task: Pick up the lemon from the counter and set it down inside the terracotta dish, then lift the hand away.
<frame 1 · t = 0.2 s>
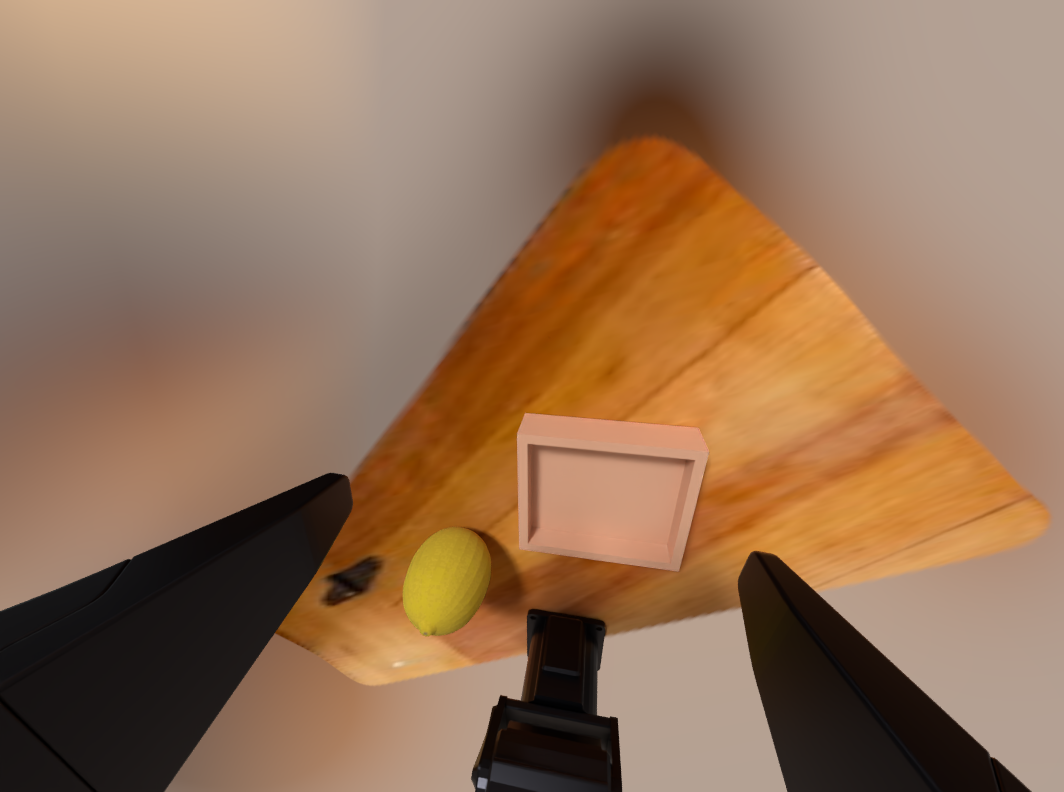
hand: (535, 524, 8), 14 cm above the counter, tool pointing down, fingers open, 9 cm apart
lemon: (469, 529, 29), on the counter
dish: (602, 480, 25), on the counter
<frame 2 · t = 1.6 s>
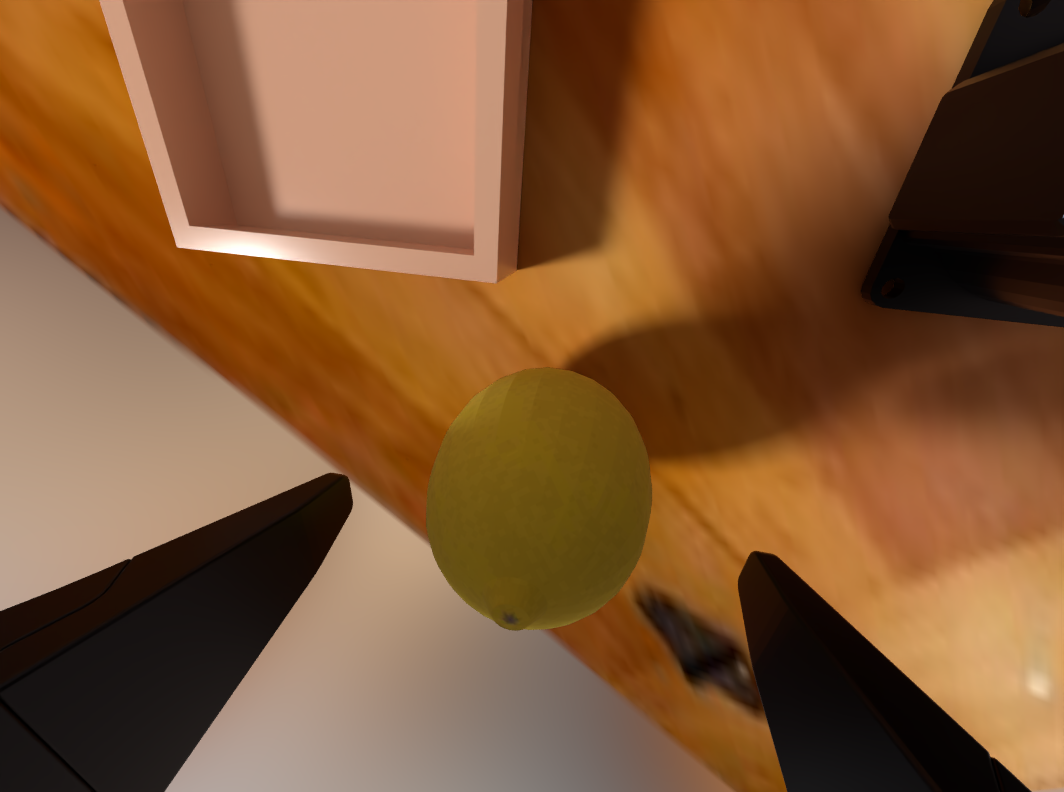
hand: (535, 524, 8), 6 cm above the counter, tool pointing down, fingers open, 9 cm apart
lemon: (558, 406, 14), on the counter
dish: (358, 47, 10), on the counter
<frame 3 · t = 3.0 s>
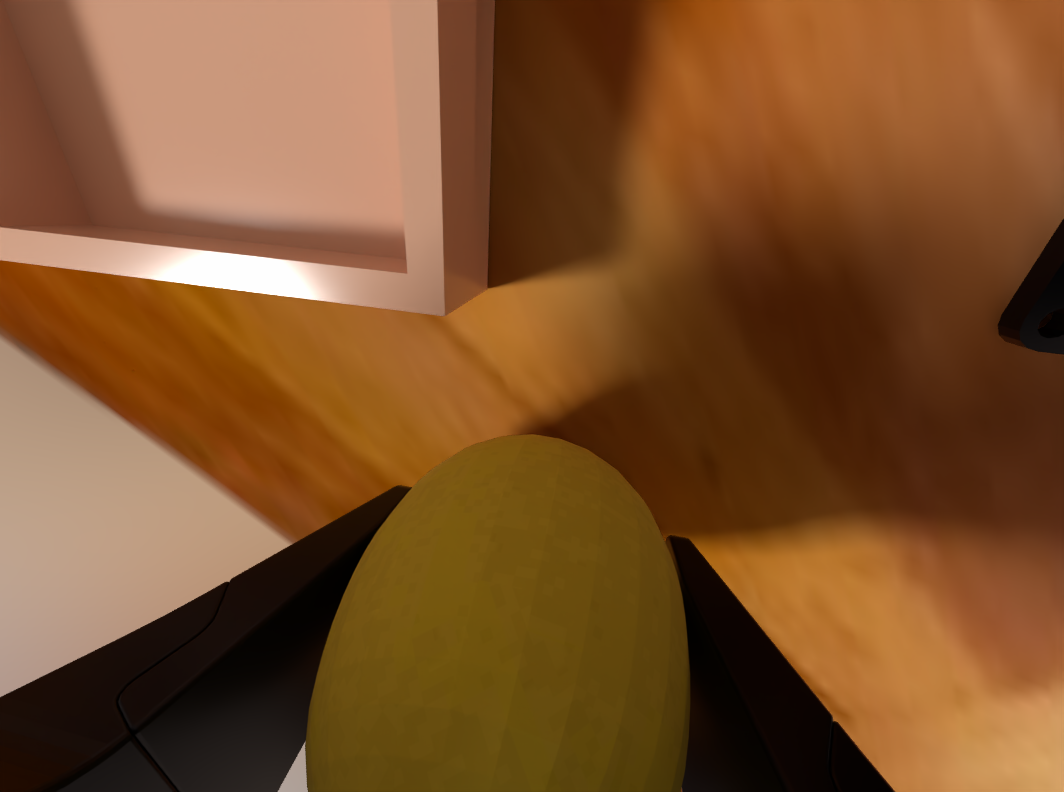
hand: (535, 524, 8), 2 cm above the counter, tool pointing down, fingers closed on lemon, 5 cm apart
lemon: (548, 465, 10), on the counter, touching gripper
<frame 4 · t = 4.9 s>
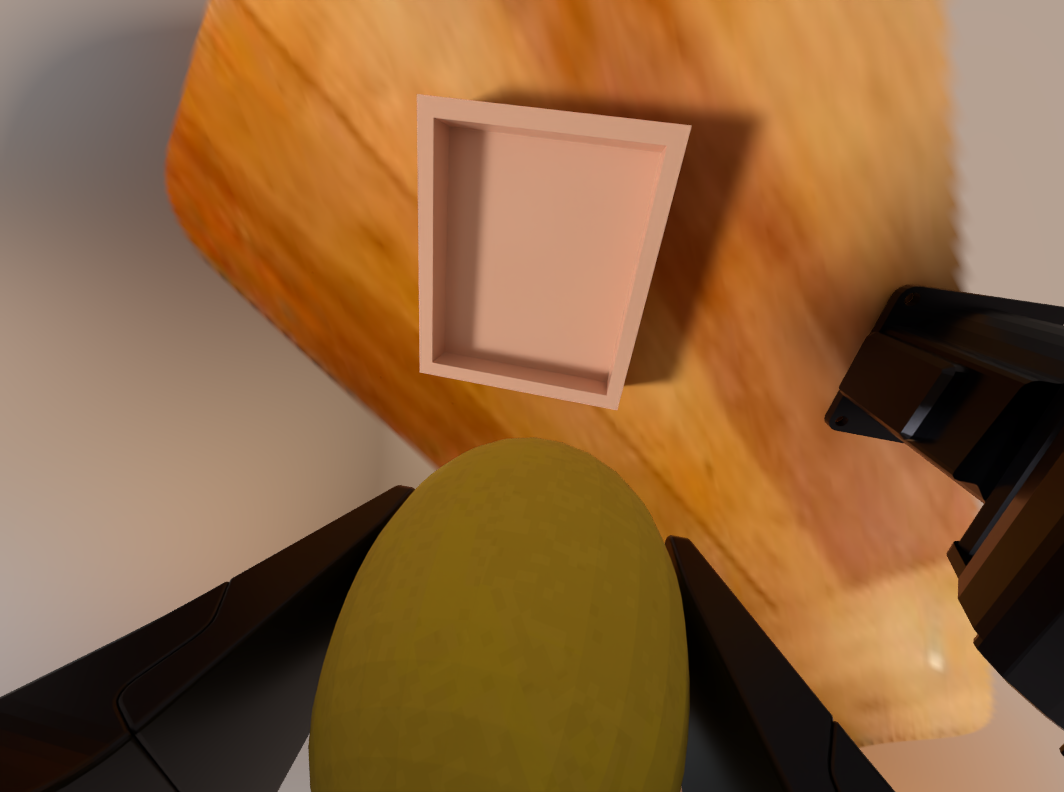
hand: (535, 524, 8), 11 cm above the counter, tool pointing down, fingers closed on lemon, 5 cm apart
lemon: (549, 467, 10), point 9 cm above the counter, touching gripper
dish: (539, 264, 17), on the counter
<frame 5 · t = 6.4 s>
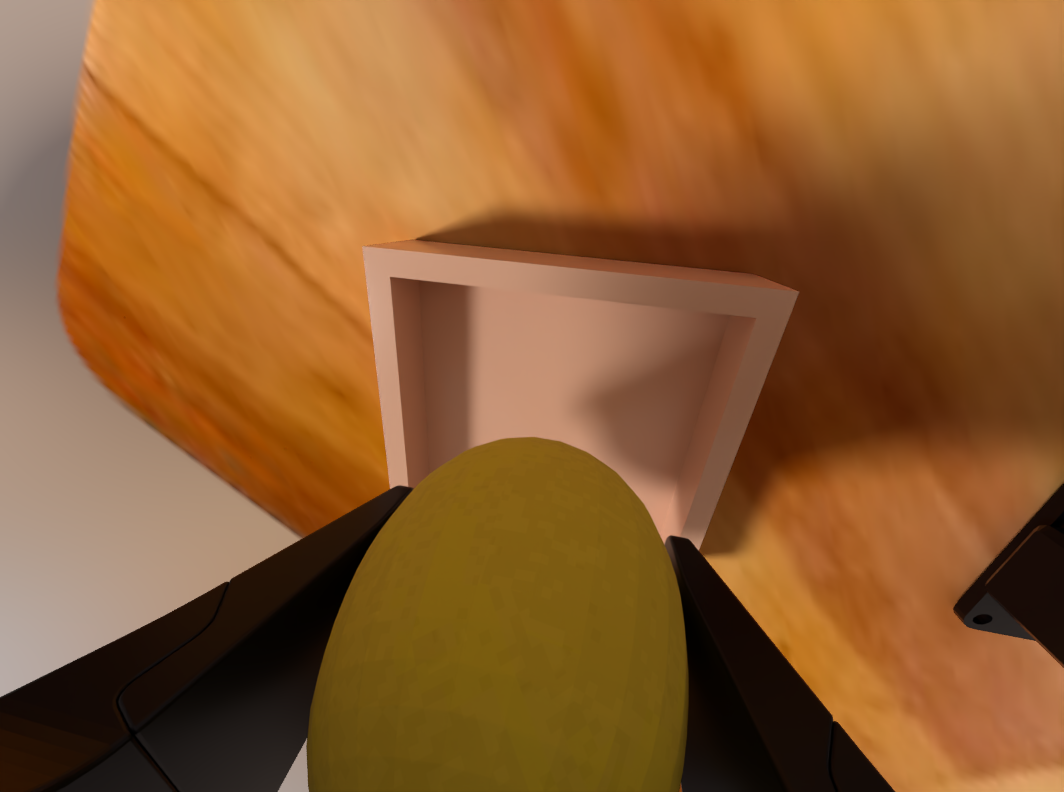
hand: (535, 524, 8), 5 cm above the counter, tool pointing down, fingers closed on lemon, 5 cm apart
lemon: (548, 467, 10), point 2 cm above the counter, touching gripper
dish: (554, 422, 12), on the counter
when the fingers open (4 cm above the counter, at t = 7.2 s): lemon drops 1 cm, resting on dish.
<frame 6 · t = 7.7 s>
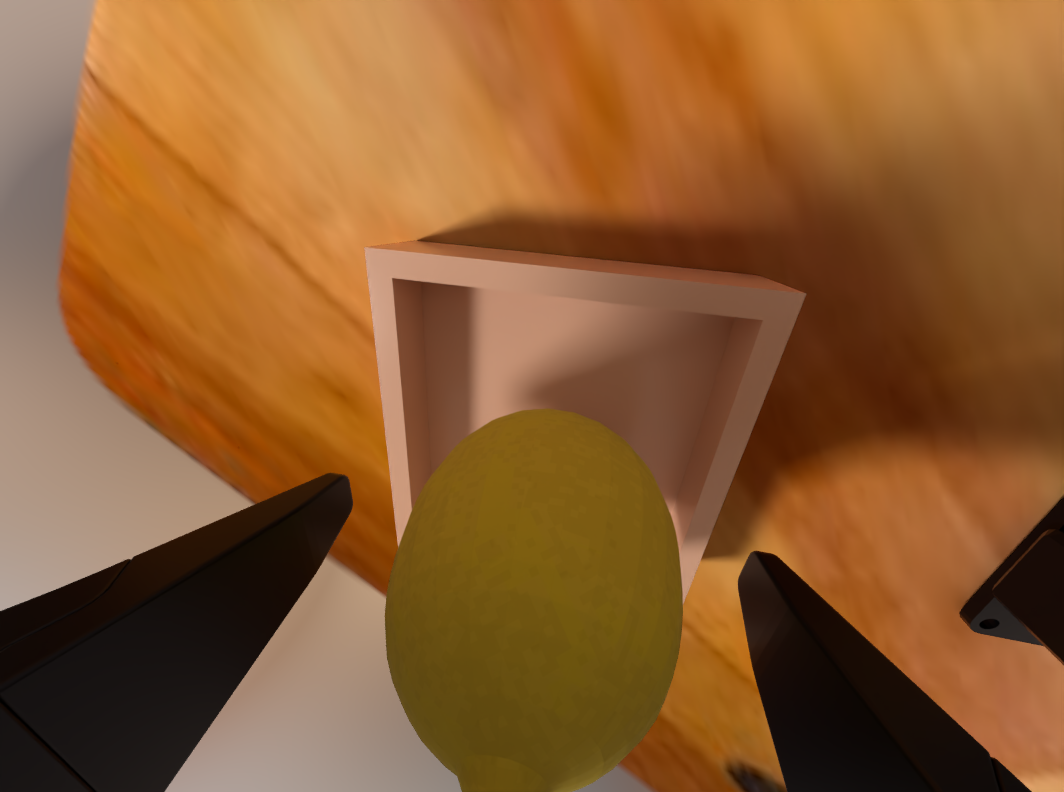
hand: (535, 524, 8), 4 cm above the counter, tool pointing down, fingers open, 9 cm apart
lemon: (557, 441, 12), point 1 cm above the counter, touching dish
dish: (556, 424, 12), on the counter
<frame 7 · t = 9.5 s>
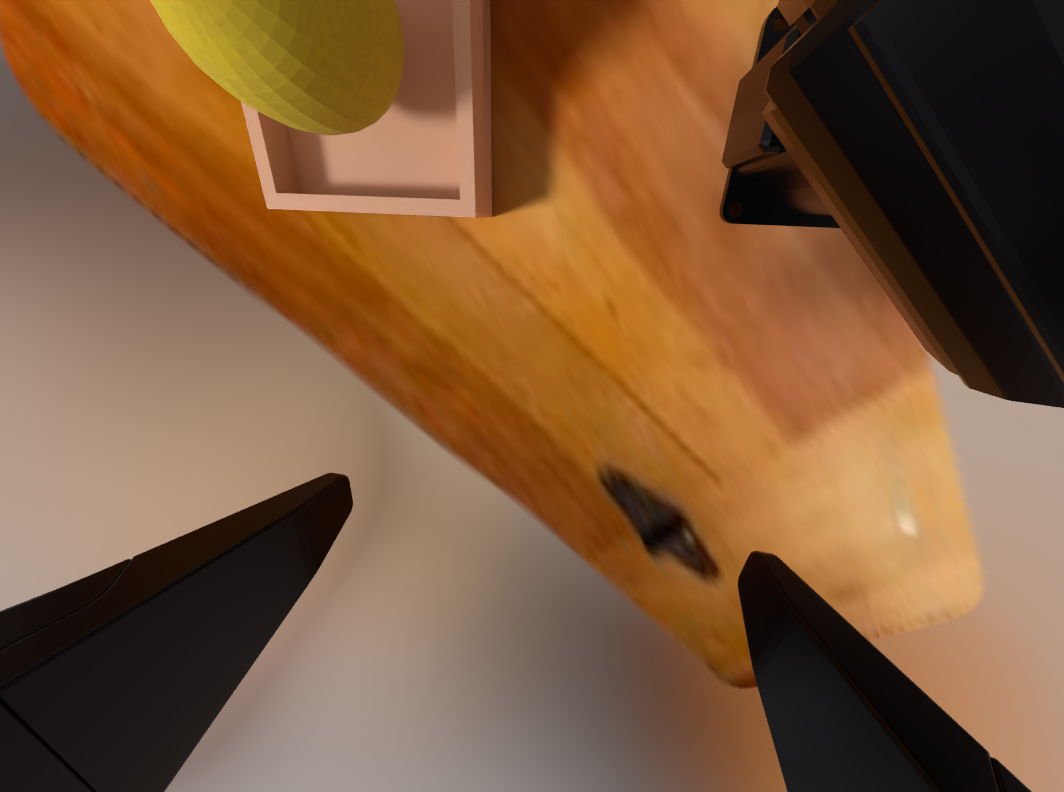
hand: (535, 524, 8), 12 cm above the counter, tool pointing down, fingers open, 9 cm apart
lemon: (374, 68, 15), point 1 cm above the counter, touching dish
dish: (381, 71, 15), on the counter
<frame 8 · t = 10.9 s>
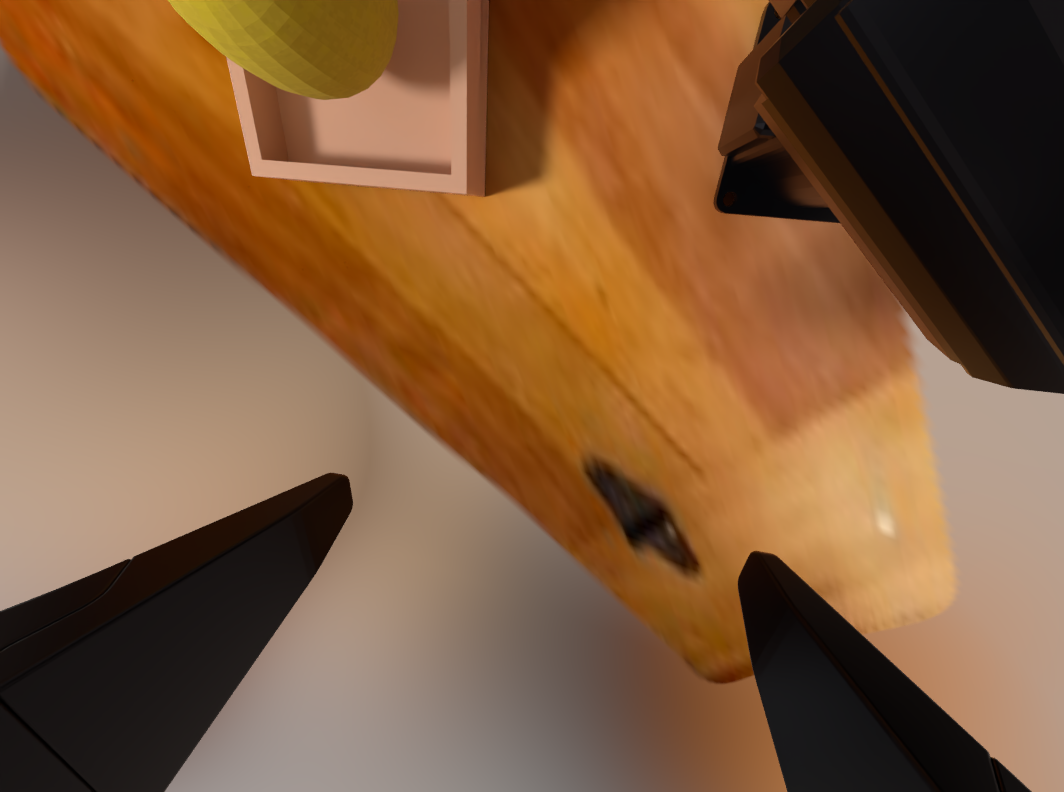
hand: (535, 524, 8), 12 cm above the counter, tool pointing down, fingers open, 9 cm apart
lemon: (367, 34, 14), point 1 cm above the counter, touching dish
dish: (375, 39, 15), on the counter
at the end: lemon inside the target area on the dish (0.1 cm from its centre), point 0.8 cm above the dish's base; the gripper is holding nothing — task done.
